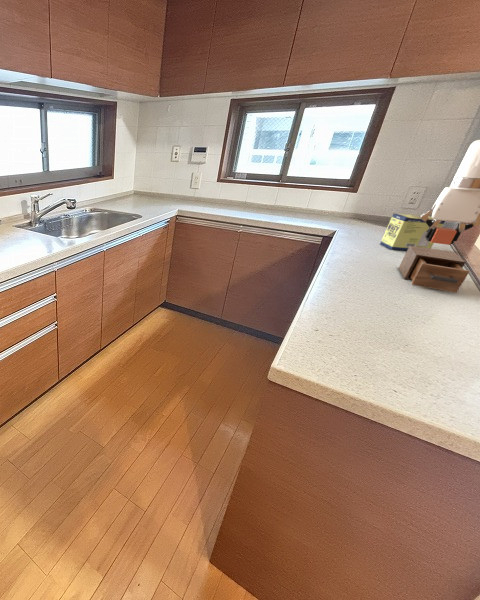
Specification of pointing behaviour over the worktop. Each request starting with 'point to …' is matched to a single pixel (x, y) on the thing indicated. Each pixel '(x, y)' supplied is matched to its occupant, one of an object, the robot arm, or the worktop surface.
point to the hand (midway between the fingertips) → (439, 241)
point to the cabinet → (427, 253)
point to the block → (443, 235)
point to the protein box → (407, 232)
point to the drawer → (438, 274)
